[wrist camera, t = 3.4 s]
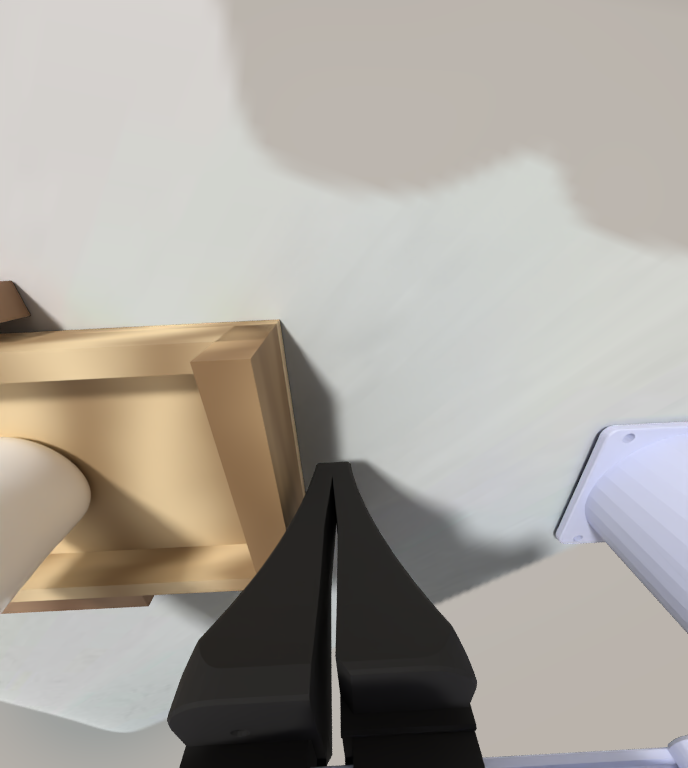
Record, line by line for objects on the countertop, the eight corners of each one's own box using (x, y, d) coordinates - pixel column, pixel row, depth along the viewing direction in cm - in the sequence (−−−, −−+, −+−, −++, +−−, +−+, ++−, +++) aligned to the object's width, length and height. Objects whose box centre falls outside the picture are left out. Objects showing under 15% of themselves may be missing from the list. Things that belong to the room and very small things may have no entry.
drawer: (279, 319, 11) (250, 358, 7) (312, 541, 16) (305, 625, 13) (-202, 343, 11) (-479, 395, 7) (3, 557, 16) (-90, 645, 13)
